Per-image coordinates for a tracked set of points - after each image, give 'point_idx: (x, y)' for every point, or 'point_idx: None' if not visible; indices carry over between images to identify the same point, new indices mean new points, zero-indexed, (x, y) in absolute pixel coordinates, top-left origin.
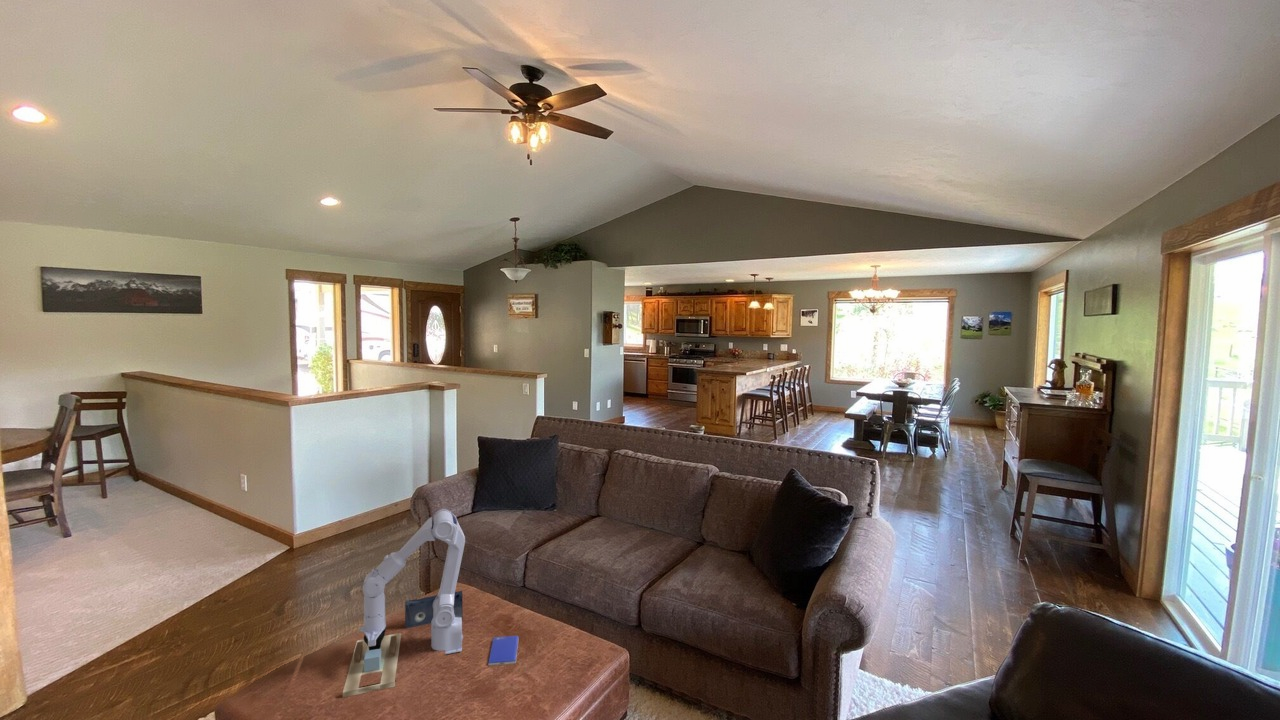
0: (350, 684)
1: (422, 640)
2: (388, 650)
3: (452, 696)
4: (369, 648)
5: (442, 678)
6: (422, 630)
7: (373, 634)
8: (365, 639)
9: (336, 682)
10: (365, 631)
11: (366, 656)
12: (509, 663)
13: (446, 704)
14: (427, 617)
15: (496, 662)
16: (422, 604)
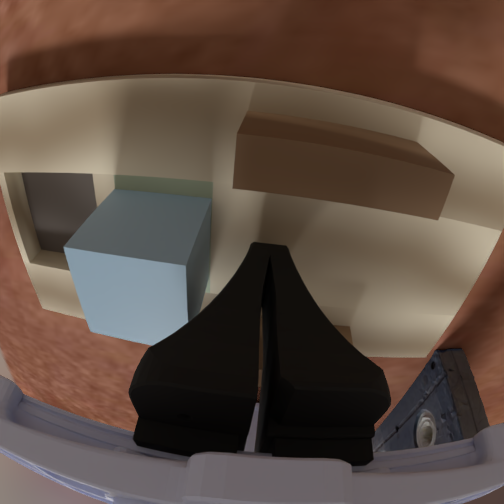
0: (26, 124)
1: None
2: None
3: (37, 378)
4: (224, 288)
5: (93, 387)
6: (402, 388)
7: (58, 481)
8: (134, 380)
9: (133, 9)
10: (119, 494)
11: (98, 264)
12: None
13: (15, 364)
14: (410, 436)
15: None
16: None
